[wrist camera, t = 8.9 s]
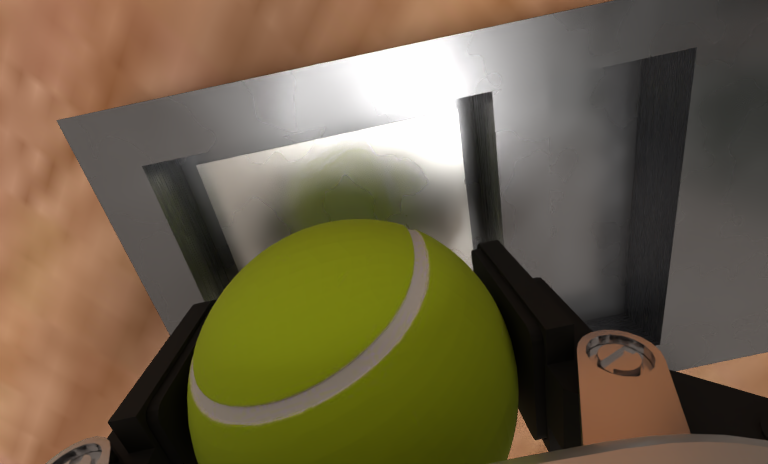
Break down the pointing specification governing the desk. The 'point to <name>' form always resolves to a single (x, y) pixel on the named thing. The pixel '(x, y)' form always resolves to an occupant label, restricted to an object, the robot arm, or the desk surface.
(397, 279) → the tennis ball
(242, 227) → the tray
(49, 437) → the desk surface
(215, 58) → the desk surface
